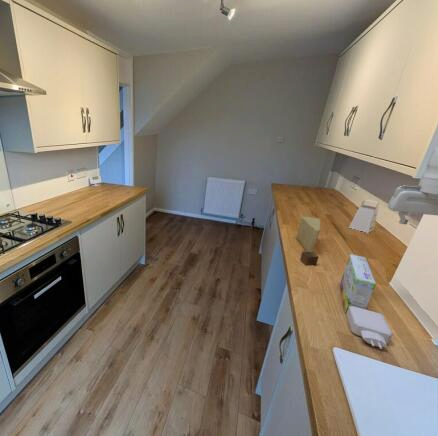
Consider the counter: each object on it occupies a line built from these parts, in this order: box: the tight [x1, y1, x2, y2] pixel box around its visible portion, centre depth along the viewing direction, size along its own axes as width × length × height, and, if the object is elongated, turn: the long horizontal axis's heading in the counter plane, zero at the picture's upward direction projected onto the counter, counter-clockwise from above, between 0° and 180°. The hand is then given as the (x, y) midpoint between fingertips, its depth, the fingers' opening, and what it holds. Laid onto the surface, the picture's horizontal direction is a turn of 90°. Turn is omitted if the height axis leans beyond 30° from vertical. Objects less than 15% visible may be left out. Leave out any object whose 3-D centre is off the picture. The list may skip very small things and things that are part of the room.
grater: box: [348, 199, 380, 234], centre depth 157 cm, size 10×10×20 cm
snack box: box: [339, 253, 377, 314], centre depth 90 cm, size 21×6×15 cm, turn 147°
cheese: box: [295, 216, 322, 253], centre depth 132 cm, size 22×10×15 cm, turn 154°
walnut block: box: [299, 251, 319, 267], centre depth 118 cm, size 5×5×5 cm
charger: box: [346, 306, 393, 350], centre depth 76 cm, size 5×9×15 cm
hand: (419, 225), depth 84 cm, fingers open, 8 cm apart
